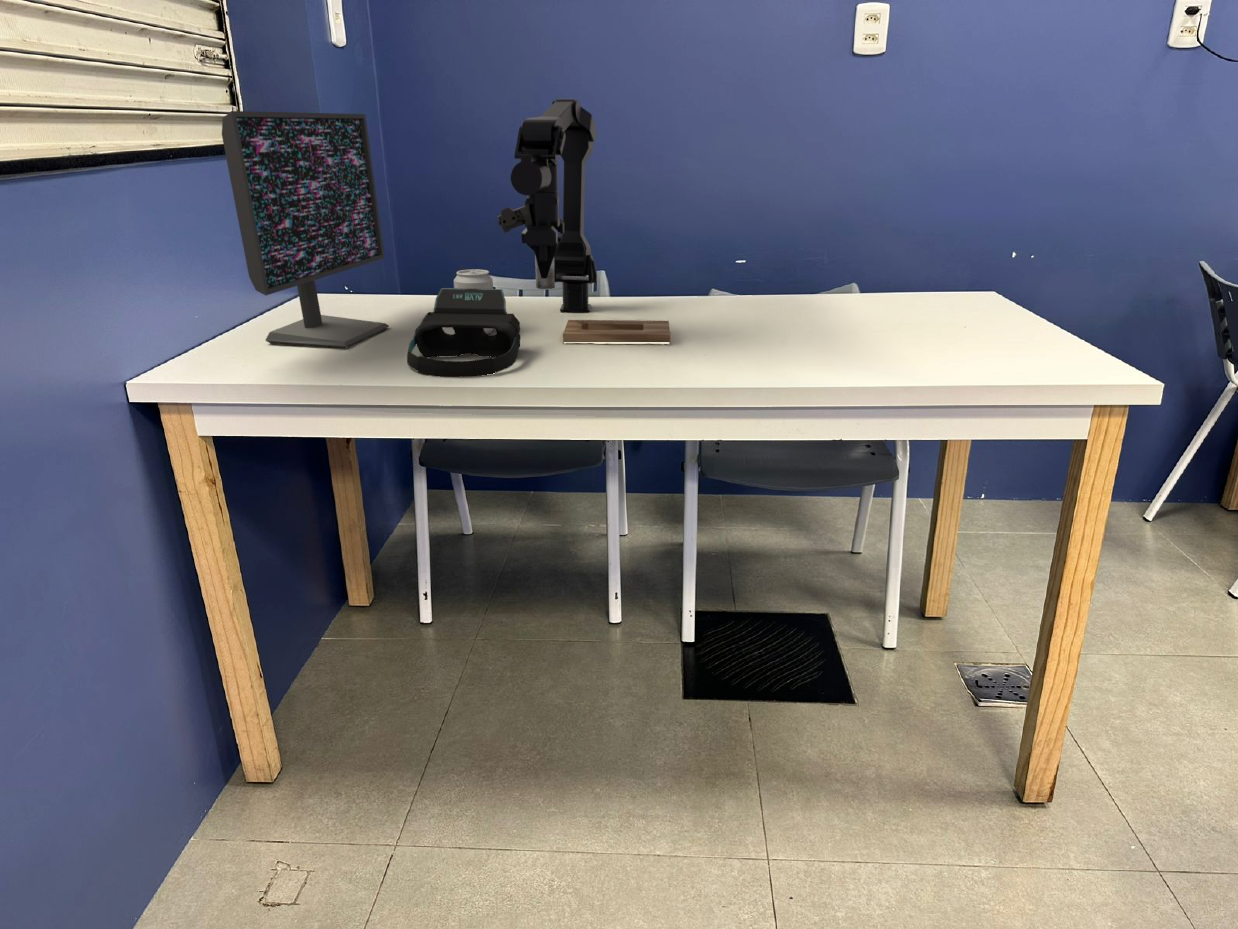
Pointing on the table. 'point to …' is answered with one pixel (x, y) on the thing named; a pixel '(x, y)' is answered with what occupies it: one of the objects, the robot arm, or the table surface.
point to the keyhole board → (616, 331)
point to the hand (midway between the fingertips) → (545, 276)
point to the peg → (542, 282)
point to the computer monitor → (304, 211)
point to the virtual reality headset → (466, 334)
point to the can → (474, 282)
